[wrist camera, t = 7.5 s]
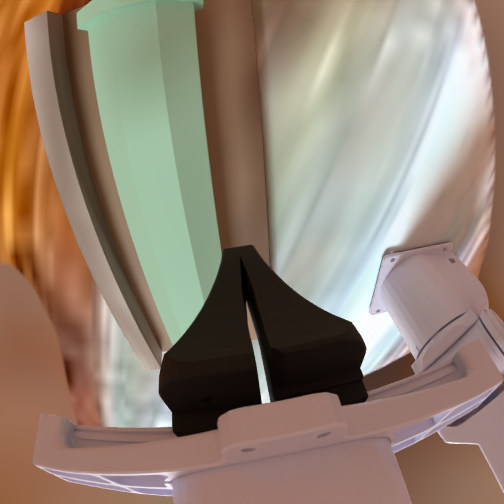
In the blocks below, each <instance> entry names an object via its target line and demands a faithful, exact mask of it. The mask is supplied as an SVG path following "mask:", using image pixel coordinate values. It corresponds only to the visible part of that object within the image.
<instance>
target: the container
mask: <svg viewBox="0 0 504 504" xmlns="http://www.w3.org/2000/svg"><path fill="white" fill-rule="evenodd" d="M200 9H203V0H92V1H90V2H89V3H88V4H87V5H86V6H84V7H83V8H82V9H81V10H80V11H78V12H77V28H78V29H80V30H86V31H88V36H89V46H90V55H91V63H92V70H93V77H94V84H95V90H96V96H97V102H98V107H99V113H100V118H101V123H102V128H103V133H104V137H105V142H106V146H107V151H108V155H109V159H110V163H111V167H112V171H113V175H114V179H115V183H116V186H117V190H118V194H119V197H120V201H121V204H122V208H123V211H124V215H125V218H126V221H127V224H128V228H129V231H130V234H131V237H132V240H133V243H134V246H135V249H136V252H137V255H138V258H139V261H140V264H141V267H142V269H143V272H144V275H145V278H146V280H147V283H148V286H149V288H150V291H151V294H152V296H153V299H154V301H155V304H156V307H157V309H158V312H159V314H160V317H161V319H162V321H163V324H164V326H165V329H166V331H167V333H168V336H169V338H170V340H171V343H172V345H174V344H175V343H176V342H177V341H178V340H179V339H180V338H181V336H182V335H183V334H184V333H185V331H186V330H187V329H188V328H189V326H190V325H191V324H192V322H193V321H194V319H195V318H196V316H197V315H198V313H199V312H200V310H201V308H202V307H203V305H204V303H205V301H206V299H207V297H208V295H209V293H210V291H211V289H212V286H213V284H214V281H215V279H216V276H217V273H218V270H219V267H220V263H221V258H222V251H221V244H220V237H219V230H218V223H217V216H216V208H215V201H214V193H213V185H212V178H211V170H210V161H209V153H208V145H207V136H206V127H205V119H204V109H203V100H202V90H201V80H200V70H199V59H198V48H197V37H196V24H195V11H197V10H200Z"/></svg>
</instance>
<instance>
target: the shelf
mask: <svg viewBox="0 0 504 504" xmlns="http://www.w3.org/2000/svg"><path fill="white" fill-rule="evenodd" d="M85 6H86V5H85ZM83 7H84V6H82V7H80V8H77V9H75V10H72V11H70V12H67V13H65V14H63V15H62V14H58V13H54V12H50V11H46V12H44V13H41V14H40V15H38V16H36V17H34V18H32V19H30V20H28V21H26V22H24V24H25V39H26V50H27V59H28V67H29V74H30V81H31V87H32V93H33V98H34V103H35V108H36V113H37V118H38V122H39V127H40V131H41V135H42V139H43V143H44V146H45V150H46V154H47V157H48V161H49V164H50V167H51V171H52V174H53V177H54V180H55V183H56V186H57V189H58V192H59V195H60V198H61V201H62V203H63V206H64V209H65V212H66V214H67V217H68V220H69V222H70V225H71V227H72V230H73V232H74V235H75V237H76V239H77V242H78V244H79V246H80V249H81V251H82V253H83V256H84V258H85V260H86V262H87V264H88V267H89V269H90V271H91V273H92V275H93V277H94V279H95V281H96V283H97V285H98V287H99V289H100V291H101V293H102V295H103V297H104V299H105V301H106V303H107V305H108V307H109V309H110V311H111V313H112V314H113V316H114V318H115V320H116V322H117V323H118V325H119V327H120V329H121V330H122V332H123V334H124V336H125V337H126V339H127V341H128V342H129V344H130V346H131V347H132V349H133V351H134V352H135V354H136V356H137V357H138V359H139V360H140V362H141V363H142V365H143V367H144V368H145V370H154V369H161V359H162V351H168V350H169V349H170V348H171V347H172V346H173V345H172V343H171V340H170V338H169V336H168V333H167V331H166V329H165V326H164V324H163V321H162V319H161V317H160V314H159V312H158V309H157V307H156V304H155V301H154V299H153V296H152V294H151V291H150V288H149V286H148V283H147V280H146V278H145V275H144V272H143V269H142V267H141V264H140V261H139V258H138V255H137V252H136V249H135V246H134V243H133V240H132V237H131V234H130V231H129V228H128V224H127V221H126V218H125V215H124V211H123V208H122V204H121V201H120V197H119V194H118V190H117V186H116V183H115V179H114V175H113V171H112V167H111V163H110V159H109V155H108V151H107V146H106V142H105V137H104V133H103V128H102V123H101V118H100V113H99V107H98V102H97V96H96V90H95V84H94V77H93V70H92V63H91V55H90V46H89V36H88V31H86V30H80V29H78V28H77V12H78V11H80V10H81V9H82V8H83ZM195 24H196V37H197V48H198V59H199V70H200V80H201V90H202V100H203V109H204V119H205V127H206V136H207V145H208V153H209V161H210V170H211V178H212V185H213V193H214V201H215V208H216V216H217V223H218V230H219V237H220V244H221V251H223V250H224V249H226V248H232V247H239V246H245V245H253V246H255V248H256V250H257V251H258V253H259V254H260V256H261V257H262V258H263V260H264V261H265V262H266V263H267V264H268V266H269V267H270V263H269V243H268V224H267V206H266V189H265V173H264V157H263V142H262V127H261V113H260V99H259V85H258V72H257V60H256V48H255V36H254V24H253V13H252V2H251V0H203V9H200V10H197V11H195ZM246 305H247V302H246ZM247 318H248V327H249V332H250V337H251V340H253V339H258V338H257V335H256V332H255V328H254V325H253V322H252V318H251V315H250V312H249V308H248V305H247Z"/></svg>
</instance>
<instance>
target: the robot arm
mask: <svg viewBox="0 0 504 504" xmlns="http://www.w3.org/2000/svg"><path fill="white" fill-rule="evenodd" d="M453 248H454V244H453V243H452V242H448V243H443V244H438V245H433V246H428V247H423V248H418V249H413V250H408V251H403V252H397V253H392V254H387V255H385V256H384V257H383V259H382V263H381V267H380V272H379V276H378V280H377V284H376V287H375V291H374V295H373V299H372V302H371V306H370V309H369V313H370V314H371V315H374V314H378V313H382V312H386V311H388V313H389V315H390V316H391V318H392V320H393V321H394V323H395V325H396V326H397V328H398V330H399V332H400V333H401V335H402V337H403V339H404V340H405V342H406V344H407V346H408V347H409V349H410V351H411V353H412V354H413V356H414V358H415V360H416V362H415V363H414V364H412V368H413V370H414V372H415V375H413V376H411V377H408V378H406V379H403V380H400V381H398V382H395V383H392V384H389V385H386V386H383V387H381V388H378V389H375V390H372V391H369V392H367V391H366V388H365V386H364V384H363V381H362V379H363V374H362V371H361V369H360V367H361V364H362V362H363V359H364V356H365V354H366V346H365V343H364V341H363V339H362V337H361V335H360V334H359V332H358V331H357V329H356V328H355V326H354V325H353V324H352V322H350V321H347V320H345V319H343V318H340V317H338V316H335V315H333V314H331V313H329V312H327V311H325V310H323V309H321V308H319V307H318V306H316V305H314V304H313V303H311V302H309V301H308V300H306V299H305V298H303V297H302V296H301V295H299V294H298V293H297V292H295V291H294V290H293V289H292V288H291V287H289V286H288V285H287V284H286V283H285V282H284V281H283V280H282V279H281V278H280V277H279V276H278V275H277V274H276V273H275V272H274V271H273V270H272V269H271V268H270V267H269V266H268V264H267V263H266V262H265V261H264V260H263V258H262V257H261V256H260V254H259V253H258V251H257V250H256V248H255V246H253V245H245V246H239V247H232V248H226V249H224V250H223V251H222V258H221V263H220V267H219V270H218V273H217V276H216V279H215V281H214V284H213V286H212V289H211V291H210V293H209V295H208V297H207V299H206V301H205V303H204V305H203V307H202V308H201V310H200V312H199V313H198V315H197V316H196V318H195V319H194V321H193V322H192V324H191V325H190V326H189V328H188V329H187V330H186V331H185V333H184V334H183V335H182V336H181V338H180V339H179V340H178V341H177V342H176V343H175V344H174V345H173V346H172V347H171V348H170V349H169V350H168V351H167V352H166V353H165V354H164V357H163V361H162V364H161V369H160V375H159V395H160V397H161V398H162V400H163V401H164V402H165V404H166V405H167V406H168V408H169V409H170V410H171V412H172V427H160V428H118V427H96V426H83V425H74V424H73V423H72V422H71V421H70V420H69V419H67V418H65V417H63V416H58V415H50V414H41V415H40V420H39V426H38V431H37V437H36V444H35V450H34V457H33V464H34V465H35V466H37V467H39V468H41V469H43V470H45V471H47V472H49V473H51V474H53V475H55V476H57V477H60V478H62V479H64V480H66V481H69V482H74V483H78V484H83V485H89V486H94V487H100V488H106V489H111V490H117V491H125V492H131V493H140V494H150V495H162V496H173V499H174V500H173V501H174V504H412V503H411V500H410V497H409V494H408V491H407V488H406V485H405V482H404V480H403V477H402V474H401V471H400V468H399V465H398V463H397V460H396V457H395V455H394V453H395V452H398V451H400V450H402V449H404V448H406V447H408V446H410V445H412V444H414V443H416V442H418V441H420V440H422V439H424V438H425V437H427V436H429V435H431V434H433V433H435V432H436V431H437V432H438V434H439V435H440V436H441V438H443V440H444V441H445V442H446V443H456V444H477V445H479V447H480V449H481V450H482V452H483V454H484V456H485V458H486V460H487V461H488V463H489V465H490V467H491V469H492V471H493V473H494V474H495V477H496V478H497V480H498V482H499V484H500V486H501V488H502V490H503V492H504V383H502V384H501V382H502V381H503V380H504V323H503V321H502V320H501V319H500V318H499V317H498V315H497V314H496V313H495V312H493V310H488V309H489V303H488V298H487V294H486V291H485V289H484V287H483V285H482V284H481V283H480V282H479V280H478V279H477V278H476V277H475V276H474V275H473V274H472V272H471V271H470V270H469V269H468V268H467V267H466V266H465V265H464V264H463V263H462V261H461V260H460V259H459V258H458V257H457V256H456V255H455V254H454V253H453V252H452V251H453ZM246 302H247V305H248V308H249V312H250V315H251V318H252V322H253V325H254V328H255V332H256V335H257V338H258V342H259V346H260V350H261V355H262V360H263V365H264V371H265V376H266V381H267V386H268V391H269V396H270V402H271V403H265V404H262V402H261V394H260V387H259V380H258V373H257V366H256V361H255V356H254V351H253V346H252V341H251V337H250V332H249V327H248V318H247V305H246ZM500 384H501V385H500ZM498 385H500V386H499V387H498ZM497 387H498V388H497ZM496 388H497V389H496ZM495 389H496V390H495Z"/></svg>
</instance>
